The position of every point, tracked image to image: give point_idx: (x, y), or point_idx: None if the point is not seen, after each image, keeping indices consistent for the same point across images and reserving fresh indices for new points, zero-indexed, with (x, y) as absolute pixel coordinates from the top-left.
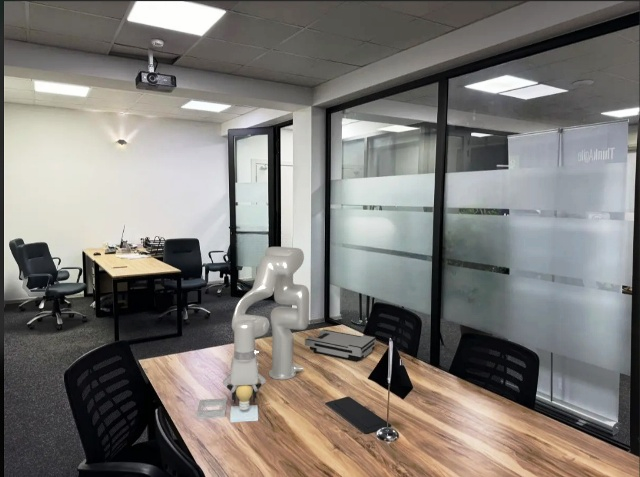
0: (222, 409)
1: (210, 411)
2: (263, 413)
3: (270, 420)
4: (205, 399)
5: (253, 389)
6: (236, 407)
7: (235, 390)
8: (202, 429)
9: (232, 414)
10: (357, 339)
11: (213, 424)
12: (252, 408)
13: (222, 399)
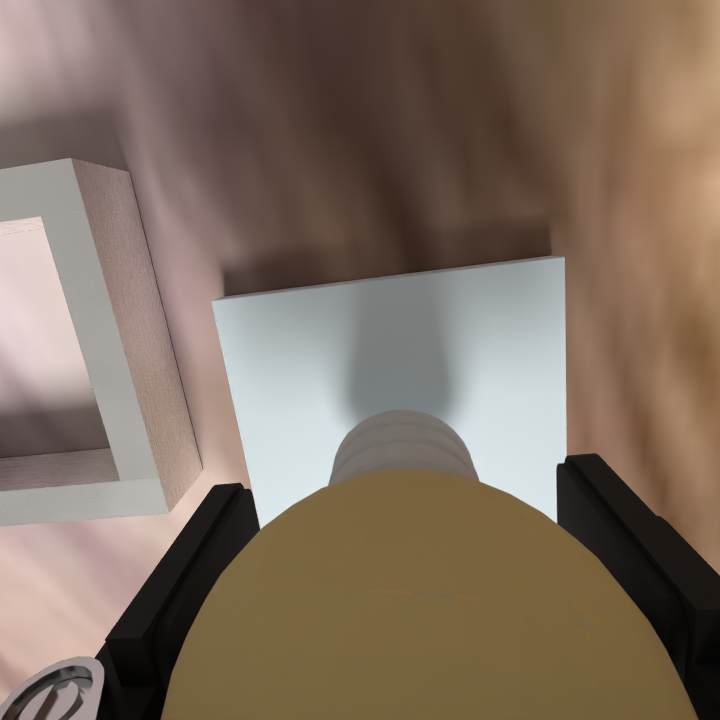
0: (131, 485)
1: (11, 522)
2: (622, 404)
3: (690, 545)
4: None
5: (685, 658)
6: (284, 327)
7: (166, 678)
8: (76, 645)
9: (273, 486)
10: None
11: (138, 583)
12: (495, 354)
13: (28, 203)
